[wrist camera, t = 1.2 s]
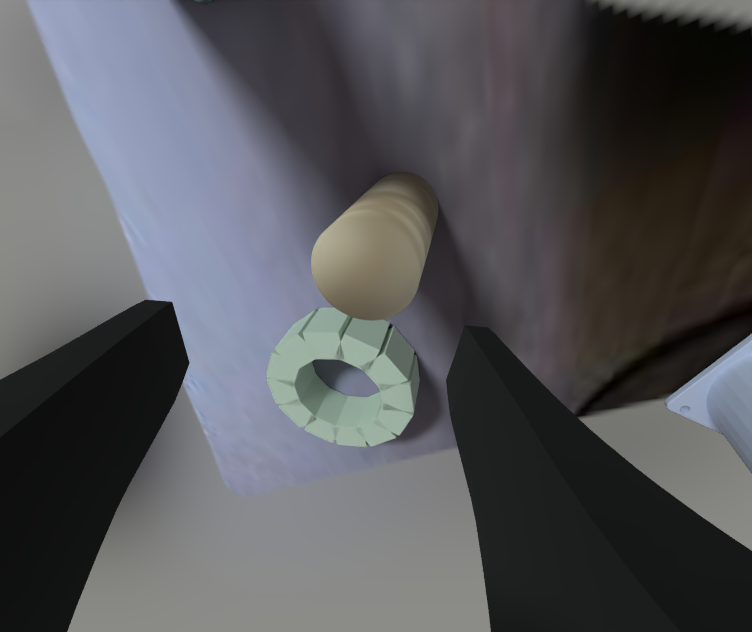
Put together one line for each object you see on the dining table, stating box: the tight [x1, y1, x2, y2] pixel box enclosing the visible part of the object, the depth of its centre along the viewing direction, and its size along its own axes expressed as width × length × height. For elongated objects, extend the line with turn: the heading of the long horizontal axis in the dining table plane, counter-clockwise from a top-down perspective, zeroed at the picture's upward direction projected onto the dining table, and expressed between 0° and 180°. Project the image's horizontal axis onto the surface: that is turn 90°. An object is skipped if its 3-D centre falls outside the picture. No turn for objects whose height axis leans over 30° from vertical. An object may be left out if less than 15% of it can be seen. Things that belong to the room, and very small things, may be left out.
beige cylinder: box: [311, 172, 439, 321], centre depth 16 cm, size 4×4×8 cm
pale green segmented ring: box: [266, 307, 420, 447], centre depth 25 cm, size 10×10×3 cm
